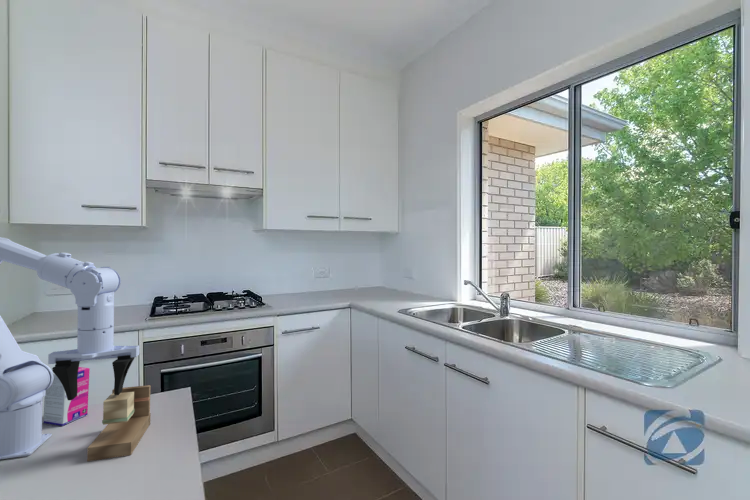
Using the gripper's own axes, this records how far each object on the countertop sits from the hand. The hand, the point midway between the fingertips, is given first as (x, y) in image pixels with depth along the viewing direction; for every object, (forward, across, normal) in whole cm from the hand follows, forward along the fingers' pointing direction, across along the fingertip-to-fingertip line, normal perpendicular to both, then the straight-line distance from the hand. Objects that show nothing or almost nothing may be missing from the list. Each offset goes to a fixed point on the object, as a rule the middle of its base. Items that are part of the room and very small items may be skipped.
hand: (95, 395), depth 70 cm
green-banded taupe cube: (+5, +4, 0) cm, 6 cm away
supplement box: (+10, -12, +16) cm, 22 cm away
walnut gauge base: (+10, +4, +2) cm, 11 cm away
